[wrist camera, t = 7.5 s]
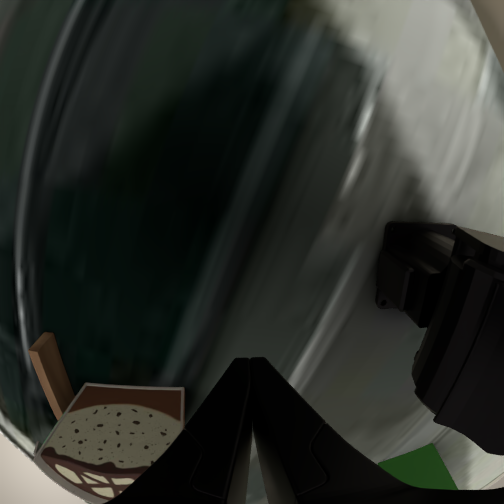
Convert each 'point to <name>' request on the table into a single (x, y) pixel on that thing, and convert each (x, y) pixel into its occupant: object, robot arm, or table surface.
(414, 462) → the hardback book
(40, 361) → the rail
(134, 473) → the food container
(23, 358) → the table surface
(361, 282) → the table surface
